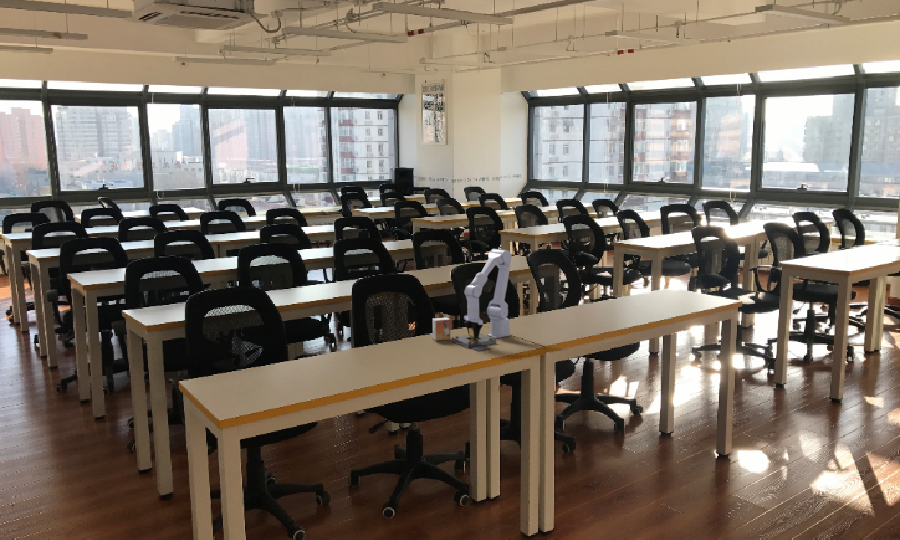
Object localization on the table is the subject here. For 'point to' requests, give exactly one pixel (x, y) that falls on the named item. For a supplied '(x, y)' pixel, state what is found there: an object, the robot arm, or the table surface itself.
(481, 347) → the mat
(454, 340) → the housing
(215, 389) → the table surface
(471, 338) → the brass cylinder
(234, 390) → the table surface
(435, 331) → the small box
